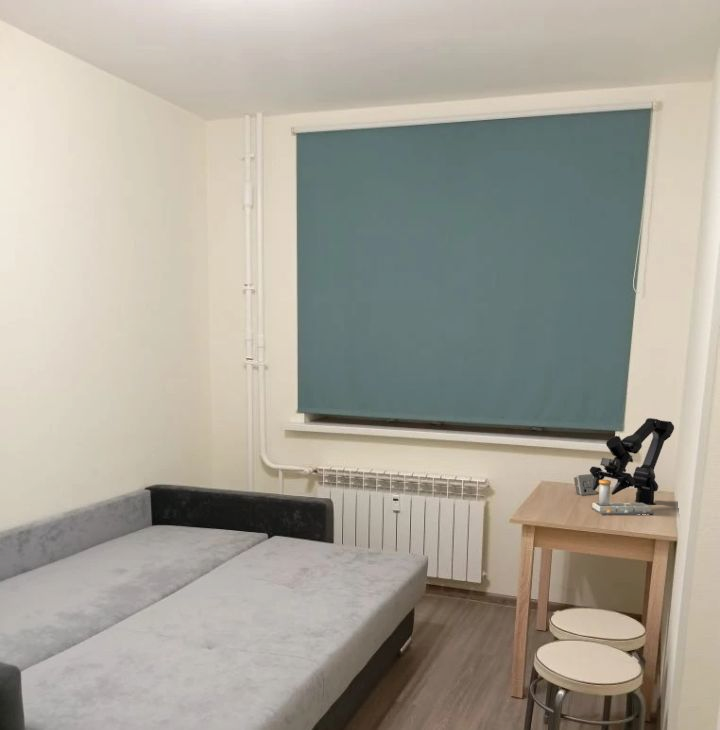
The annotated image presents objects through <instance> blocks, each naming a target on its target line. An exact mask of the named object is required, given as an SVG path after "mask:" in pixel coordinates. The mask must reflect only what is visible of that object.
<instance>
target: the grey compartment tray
mask: <svg viewBox="0 0 720 730" xmlns="http://www.w3.org/2000/svg"><path fill="white" fill-rule="evenodd" d="M651 508H652V507H651V506H650V505H646V504H644V503H637V502H609V506H599V502H592V506H591V510H593V511H594V510H595V512H596V513H598V514H599V513H600V514H599V515H601V516H638V515H637V514H640V515H639V516H643V515H642V514H646V515H645V516H648V515H647V514H654V515H655V513H654V512H652V511H651V510H652V509H651Z"/></svg>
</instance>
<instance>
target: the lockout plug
mask: <svg viewBox="0 0 720 730" xmlns="http://www.w3.org/2000/svg"><path fill="white" fill-rule="evenodd" d="M611 483H612V481H611V480H608V479H602V480H599V484H600V485H599V490H598V491H599V495H598V496H599V497H598V498H599V499H598V503H599V506H609V503H610V496H611V495H610V492H611Z"/></svg>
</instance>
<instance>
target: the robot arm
mask: <svg viewBox="0 0 720 730" xmlns="http://www.w3.org/2000/svg"><path fill="white" fill-rule="evenodd" d="M674 430H675V426H674V424H673V422H672V421H669V420H660V419H657V418H651V417H650V418H646V419H645V422H644V423H643V424H642V425H641V426H640V427H638V429H637V430H636V431H635V432H634V433H633V434H630V435H628V436H626V437H624V438H623V439H622V438H621V437H620V436H619V435H615V436H614V437H612V438H610V439H608V440H607V441H606V443H605V444H606V447H607V448H608V450H609V452H610V454H611V455H612V456H614V458H613V459H612V458H608V457H602V458H601V461H600V463H599V464H600V466H602V467H604V468H603V469H604V470H605V471H603V470H602V468H601V467H600V466H599V467H598V466H591V467H590V469H589V472H590V474H592V475H593V479H594V481H593V488H592V489H593V490H596V489H597V488H599V487H600V484H599V480H605V477H606V478H610V479H612V480H617V482H616V484H615V486H614V487H613V489H612V491H611V495H615V494H617V493H619V492H621V491H623V490H626V489H628V488H630V487H631V488H634V489H636V492H635V499H634V503H644V504H646V505H648V506H650V505H657V503H656V502H655V492H657V491H658V489H659V484H658V483H657V481H656V474H655V467H656V465H657V462H658V460H659V457H660V454H661V452H662V449H663V446H664V444H665V442H666V441H667V440H668V439H669V438H670V437H671V436H672V435H673V433H674ZM651 434H652V439H651V441H650V444H649V447H648V449H647V451H646V454H645V456H644V460H643V463H642V465H641V466H636V467H635V470H634V472H633V474H631V473H628V472H626V471H627V469H626V468H627V466H628V465H629V463H634V459H633V456H632V455H631V454H634V455H635V454H638V453H639V452H640V450H641V449H642V447H643V445H642V444H643V442H644V441H645V440H646V439H647V438H648V437H649V436H650V435H651ZM632 475H633V476H632Z"/></svg>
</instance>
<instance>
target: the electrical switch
mask: <svg viewBox="0 0 720 730" xmlns="http://www.w3.org/2000/svg"><path fill="white" fill-rule="evenodd" d="M573 481H574V486H575V492H576V495H579V496H581V495H582V496H589V494H591V495H596V494H597V491H596V489H595V490H593V489H592V488H593V481H594V477H593V475H592V474H591V473H587V474H577V475H576V476H575V477H573Z"/></svg>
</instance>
